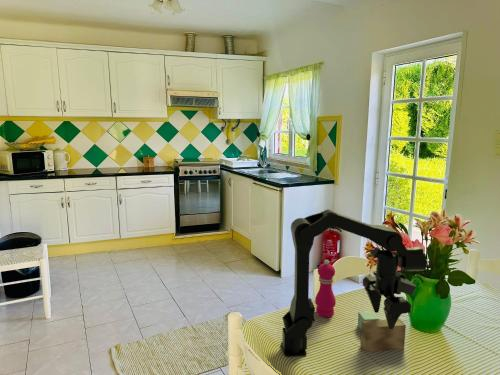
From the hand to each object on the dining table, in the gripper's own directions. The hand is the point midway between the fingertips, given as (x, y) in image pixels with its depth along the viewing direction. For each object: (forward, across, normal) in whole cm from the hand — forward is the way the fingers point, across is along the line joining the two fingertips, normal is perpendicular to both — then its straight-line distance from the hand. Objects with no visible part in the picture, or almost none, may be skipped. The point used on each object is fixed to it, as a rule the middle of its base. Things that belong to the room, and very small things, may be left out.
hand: (383, 320), depth 104 cm
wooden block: (+9, 0, 0) cm, 9 cm away
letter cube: (+9, +10, 0) cm, 13 cm away
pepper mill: (+9, +22, +11) cm, 26 cm away
